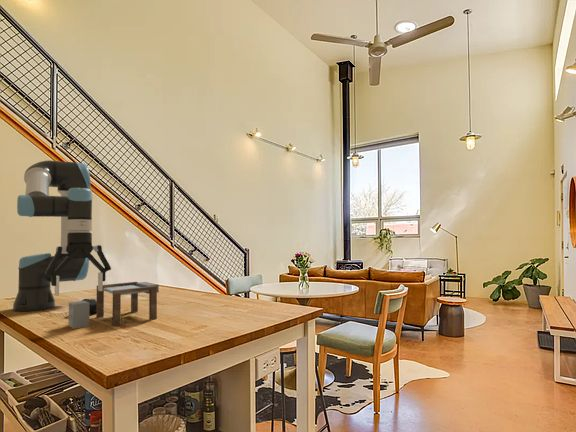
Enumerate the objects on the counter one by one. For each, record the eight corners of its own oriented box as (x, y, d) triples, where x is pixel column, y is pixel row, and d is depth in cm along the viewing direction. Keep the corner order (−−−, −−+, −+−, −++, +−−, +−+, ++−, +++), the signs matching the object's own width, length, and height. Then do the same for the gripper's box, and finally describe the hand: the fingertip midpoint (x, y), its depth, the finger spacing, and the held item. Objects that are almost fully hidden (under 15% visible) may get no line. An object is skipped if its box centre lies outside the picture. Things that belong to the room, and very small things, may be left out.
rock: (79, 311, 155) (79, 297, 155) (103, 309, 157) (103, 295, 158) (73, 317, 145) (73, 302, 145) (98, 315, 148) (98, 300, 148)
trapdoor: (104, 293, 143) (104, 285, 143) (144, 288, 154) (144, 281, 154) (118, 298, 132) (118, 289, 132) (160, 292, 143) (160, 284, 143)
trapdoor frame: (96, 317, 143) (96, 285, 144) (135, 311, 154) (135, 281, 154) (114, 326, 129) (114, 291, 129) (156, 318, 139) (156, 286, 139)
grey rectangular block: (68, 325, 131) (68, 302, 131) (84, 323, 134) (84, 300, 134) (73, 328, 126) (73, 304, 127) (89, 326, 130) (89, 302, 130)
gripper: (39, 232, 120) (39, 298, 119) (120, 231, 137) (120, 289, 136) (35, 232, 126) (34, 296, 125) (113, 232, 143) (113, 288, 142)
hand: (79, 293), depth 130 cm, fingers open, 13 cm apart
